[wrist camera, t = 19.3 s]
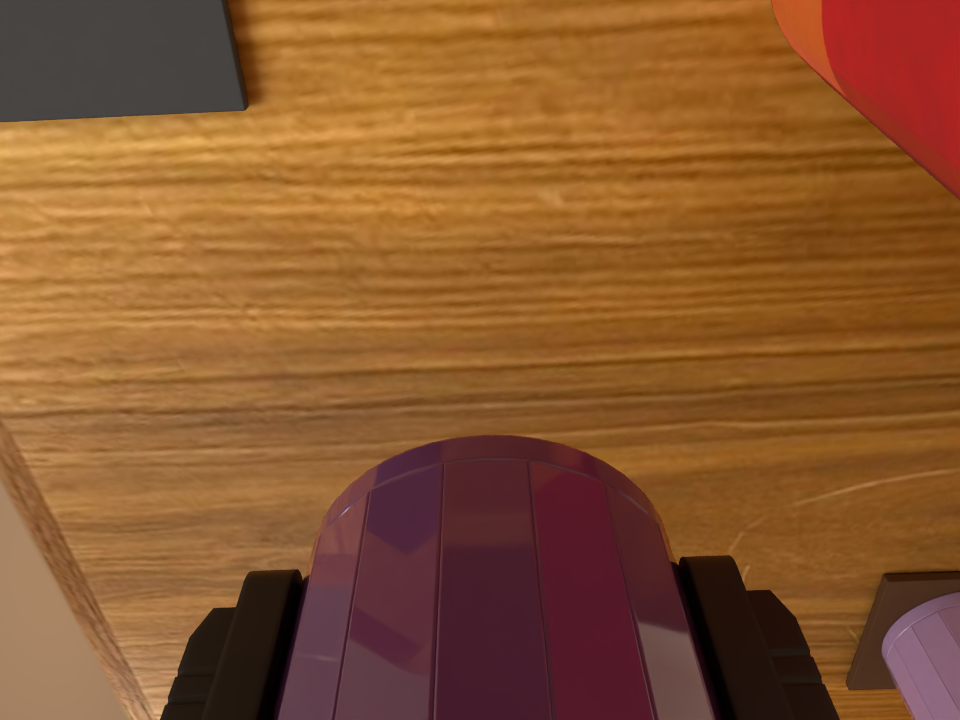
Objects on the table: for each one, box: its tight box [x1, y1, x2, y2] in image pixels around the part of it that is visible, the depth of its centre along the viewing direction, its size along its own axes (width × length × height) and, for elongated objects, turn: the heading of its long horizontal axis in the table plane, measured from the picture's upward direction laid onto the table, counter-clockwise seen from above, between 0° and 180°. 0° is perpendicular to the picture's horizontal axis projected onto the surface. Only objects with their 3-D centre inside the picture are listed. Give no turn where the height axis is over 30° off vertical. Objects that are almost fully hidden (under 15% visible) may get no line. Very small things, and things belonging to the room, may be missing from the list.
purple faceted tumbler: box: [270, 435, 725, 720], centre depth 10 cm, size 6×6×5 cm
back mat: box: [846, 572, 960, 690], centre depth 32 cm, size 7×7×1 cm
